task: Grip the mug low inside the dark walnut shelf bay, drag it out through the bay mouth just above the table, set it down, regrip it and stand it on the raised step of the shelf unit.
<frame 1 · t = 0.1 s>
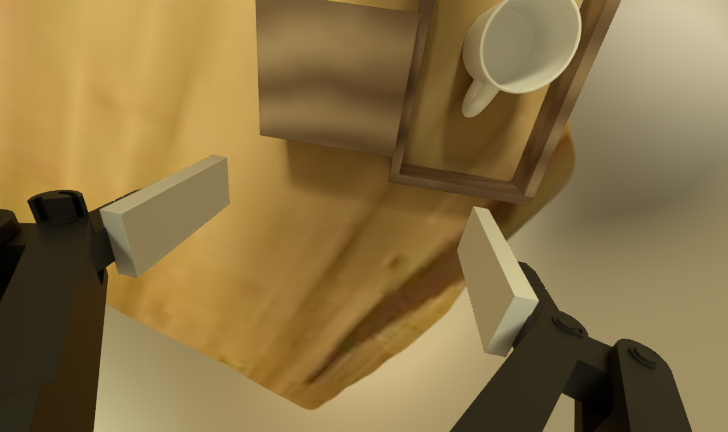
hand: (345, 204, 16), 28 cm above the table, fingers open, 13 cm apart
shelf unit: (437, 92, 38), on the table
mug: (486, 63, 36), on the table
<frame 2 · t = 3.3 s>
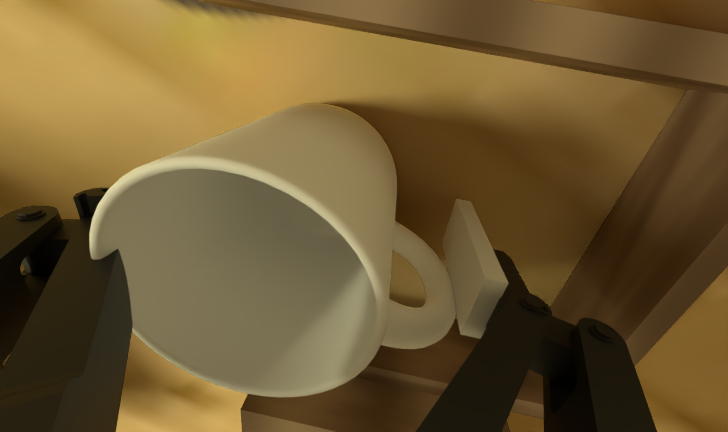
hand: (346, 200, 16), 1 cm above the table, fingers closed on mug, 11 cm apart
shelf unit: (400, 272, 20), on the table
mug: (354, 191, 18), on the table, touching gripper
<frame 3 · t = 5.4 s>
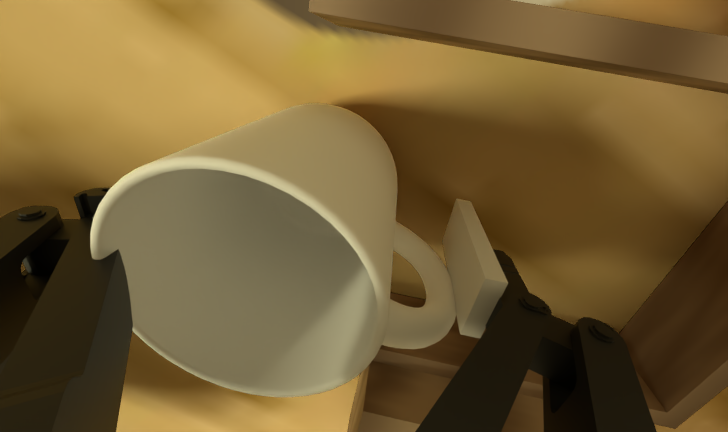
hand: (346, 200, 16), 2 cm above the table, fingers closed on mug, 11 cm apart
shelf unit: (488, 278, 20), on the table
mug: (354, 191, 18), point 1 cm above the table, touching gripper
when the fingers open (2 cm above the table, at t = 8.0 s): mug stays where it is, on the table.
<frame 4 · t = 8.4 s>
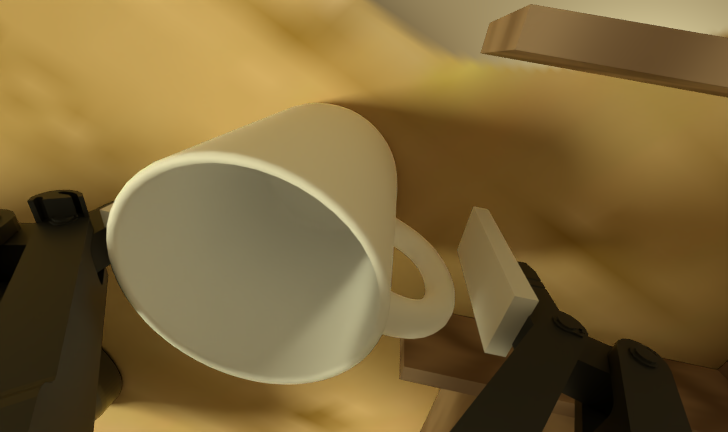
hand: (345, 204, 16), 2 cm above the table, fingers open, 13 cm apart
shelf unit: (594, 308, 20), on the table
mug: (355, 188, 18), on the table
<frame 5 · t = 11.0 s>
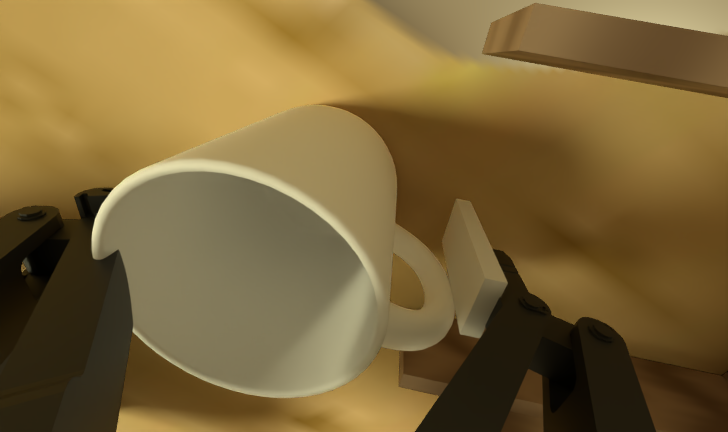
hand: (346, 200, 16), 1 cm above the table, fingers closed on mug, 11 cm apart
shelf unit: (597, 313, 19), on the table
mug: (354, 192, 18), on the table, touching gripper
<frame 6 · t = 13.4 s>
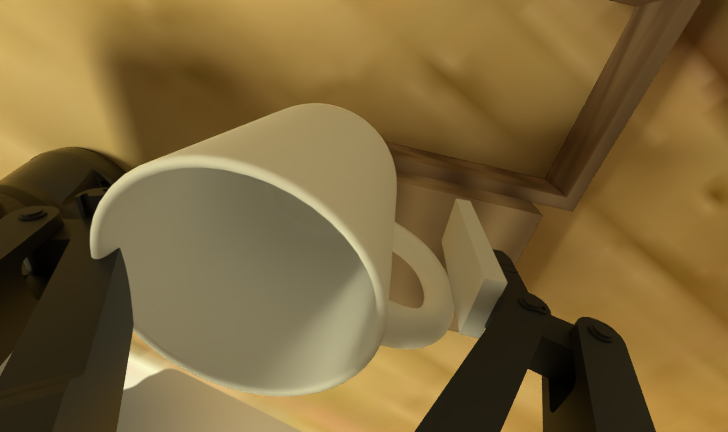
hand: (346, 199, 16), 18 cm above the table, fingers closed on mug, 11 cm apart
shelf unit: (466, 131, 32), on the table
mug: (354, 191, 18), point 17 cm above the table, touching gripper
when the fingers open (11 cm above the table, at t = 16.0 s): mug drops 1 cm, resting on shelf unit.
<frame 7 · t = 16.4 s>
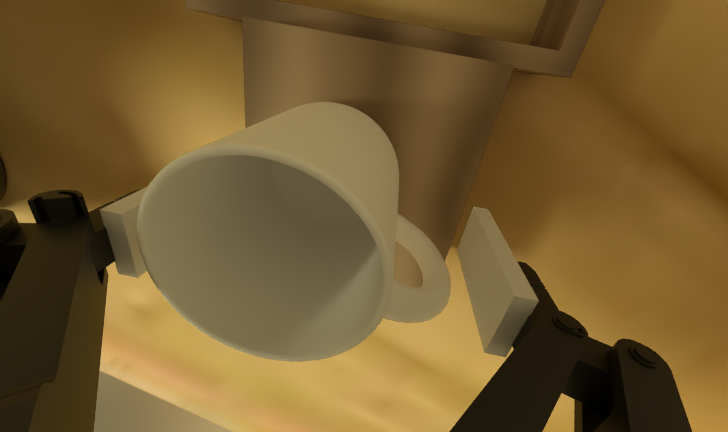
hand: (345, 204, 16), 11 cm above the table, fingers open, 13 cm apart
mug: (358, 184, 19), point 8 cm above the table, touching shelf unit
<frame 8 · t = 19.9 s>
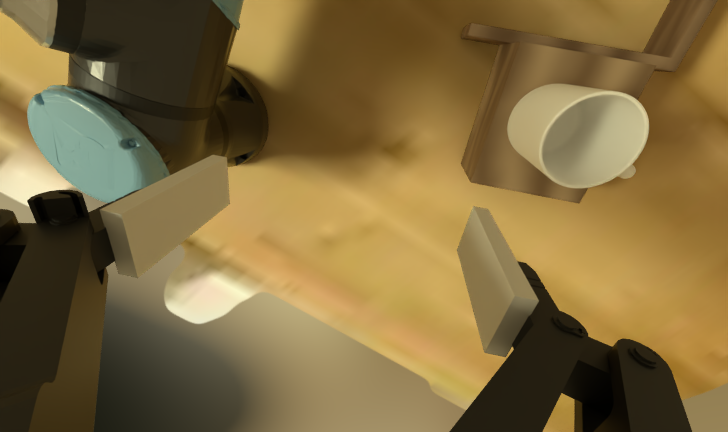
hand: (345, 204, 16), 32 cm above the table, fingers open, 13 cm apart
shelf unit: (570, 15, 36), on the table
mug: (554, 130, 35), point 8 cm above the table, touching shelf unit
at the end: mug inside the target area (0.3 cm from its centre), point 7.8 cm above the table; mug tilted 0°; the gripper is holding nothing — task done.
